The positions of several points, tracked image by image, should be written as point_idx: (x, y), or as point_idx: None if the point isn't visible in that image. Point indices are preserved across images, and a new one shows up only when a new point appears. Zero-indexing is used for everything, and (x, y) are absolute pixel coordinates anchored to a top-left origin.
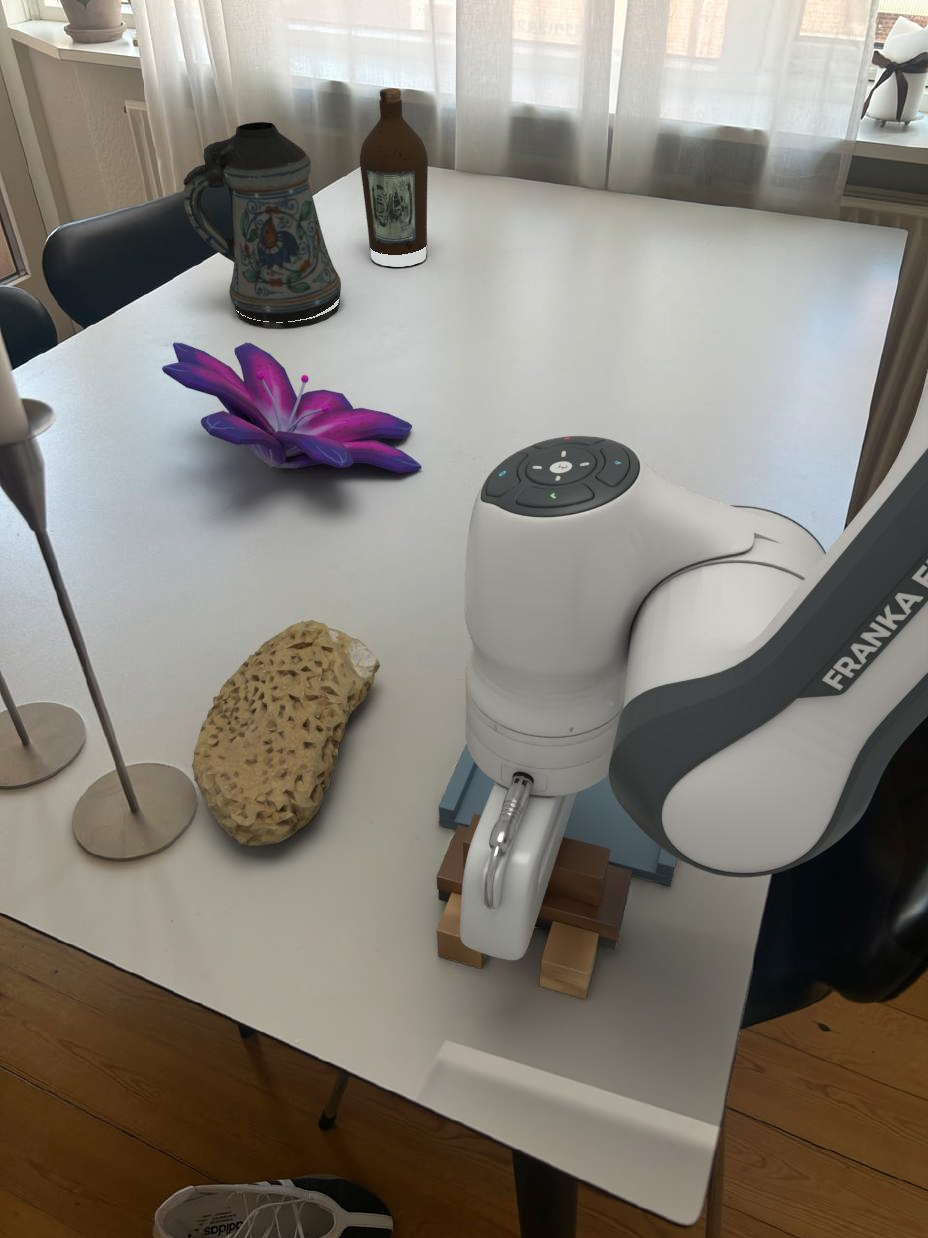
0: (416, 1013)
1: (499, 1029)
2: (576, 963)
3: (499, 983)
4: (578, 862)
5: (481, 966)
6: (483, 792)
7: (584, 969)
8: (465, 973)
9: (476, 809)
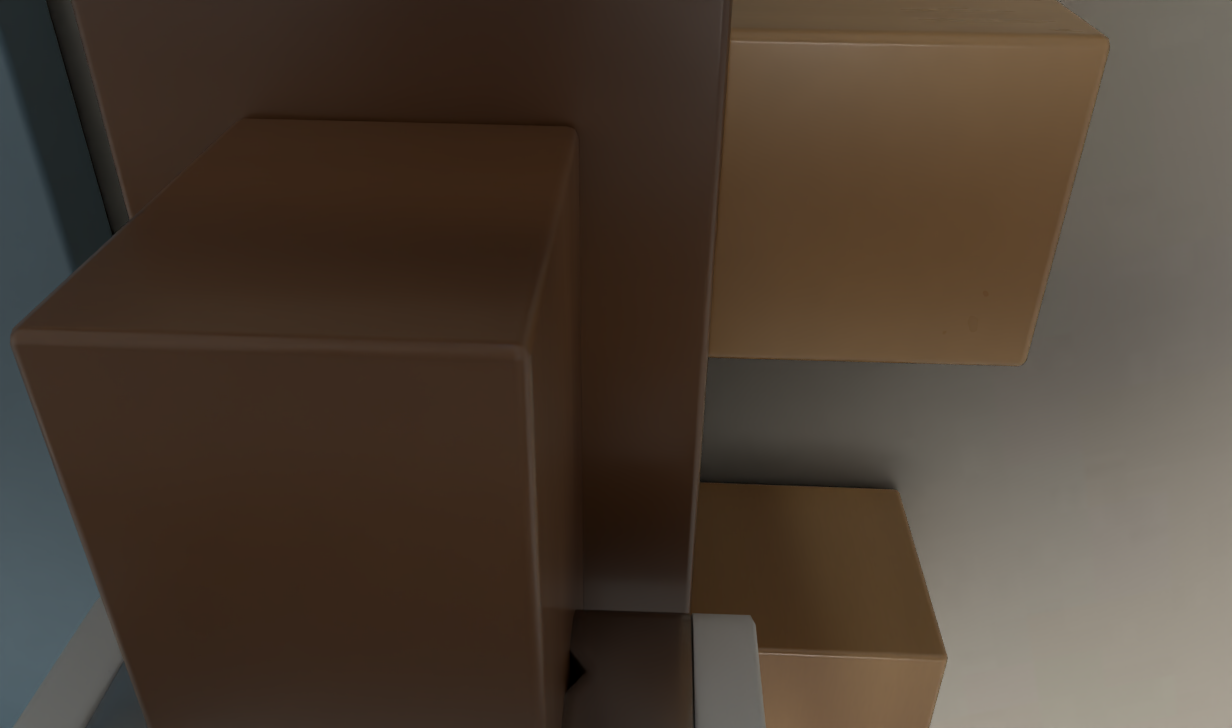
0: (1136, 645)
1: (1204, 352)
2: (1018, 147)
3: (956, 402)
4: (403, 618)
5: (901, 502)
6: (5, 701)
7: (1075, 82)
8: (927, 535)
9: None
